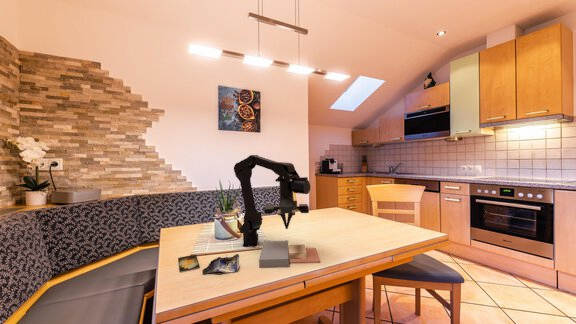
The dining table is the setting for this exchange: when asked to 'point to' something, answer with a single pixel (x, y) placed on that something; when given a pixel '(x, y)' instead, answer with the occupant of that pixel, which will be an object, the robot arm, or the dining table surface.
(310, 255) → the terracotta mat
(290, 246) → the birch tile
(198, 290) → the dining table surface
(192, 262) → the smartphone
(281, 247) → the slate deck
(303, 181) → the robot arm
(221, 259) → the snack package
